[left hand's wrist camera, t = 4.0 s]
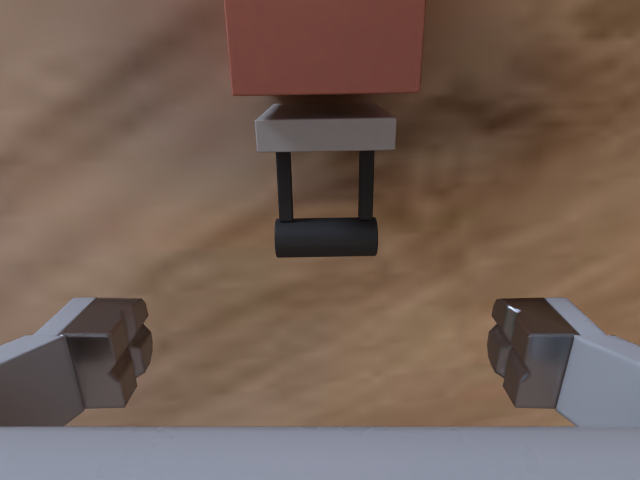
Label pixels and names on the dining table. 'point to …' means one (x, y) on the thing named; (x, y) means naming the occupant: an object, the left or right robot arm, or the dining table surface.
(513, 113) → the dining table surface
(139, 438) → the left robot arm
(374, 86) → the cabinet
